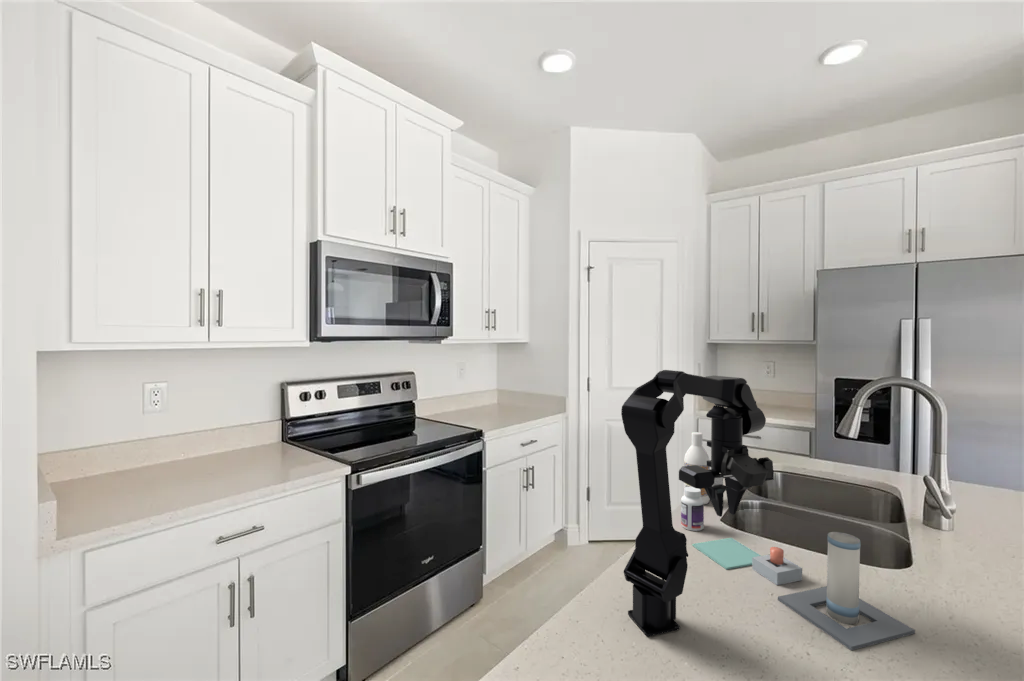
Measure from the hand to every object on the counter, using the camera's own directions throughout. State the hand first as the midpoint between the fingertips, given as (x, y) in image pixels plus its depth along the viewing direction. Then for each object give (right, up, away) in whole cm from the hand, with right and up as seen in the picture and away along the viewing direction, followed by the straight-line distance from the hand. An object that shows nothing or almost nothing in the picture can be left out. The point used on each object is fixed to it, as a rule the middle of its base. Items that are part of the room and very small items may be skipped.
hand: (725, 514), depth 93 cm
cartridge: (+15, -13, -12) cm, 23 cm away
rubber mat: (+6, -13, +10) cm, 17 cm away
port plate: (+15, -13, -12) cm, 23 cm away
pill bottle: (+3, -12, +24) cm, 27 cm away
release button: (+11, -10, +2) cm, 15 cm away
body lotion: (+11, -12, +41) cm, 44 cm away
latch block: (+11, -13, +2) cm, 17 cm away
